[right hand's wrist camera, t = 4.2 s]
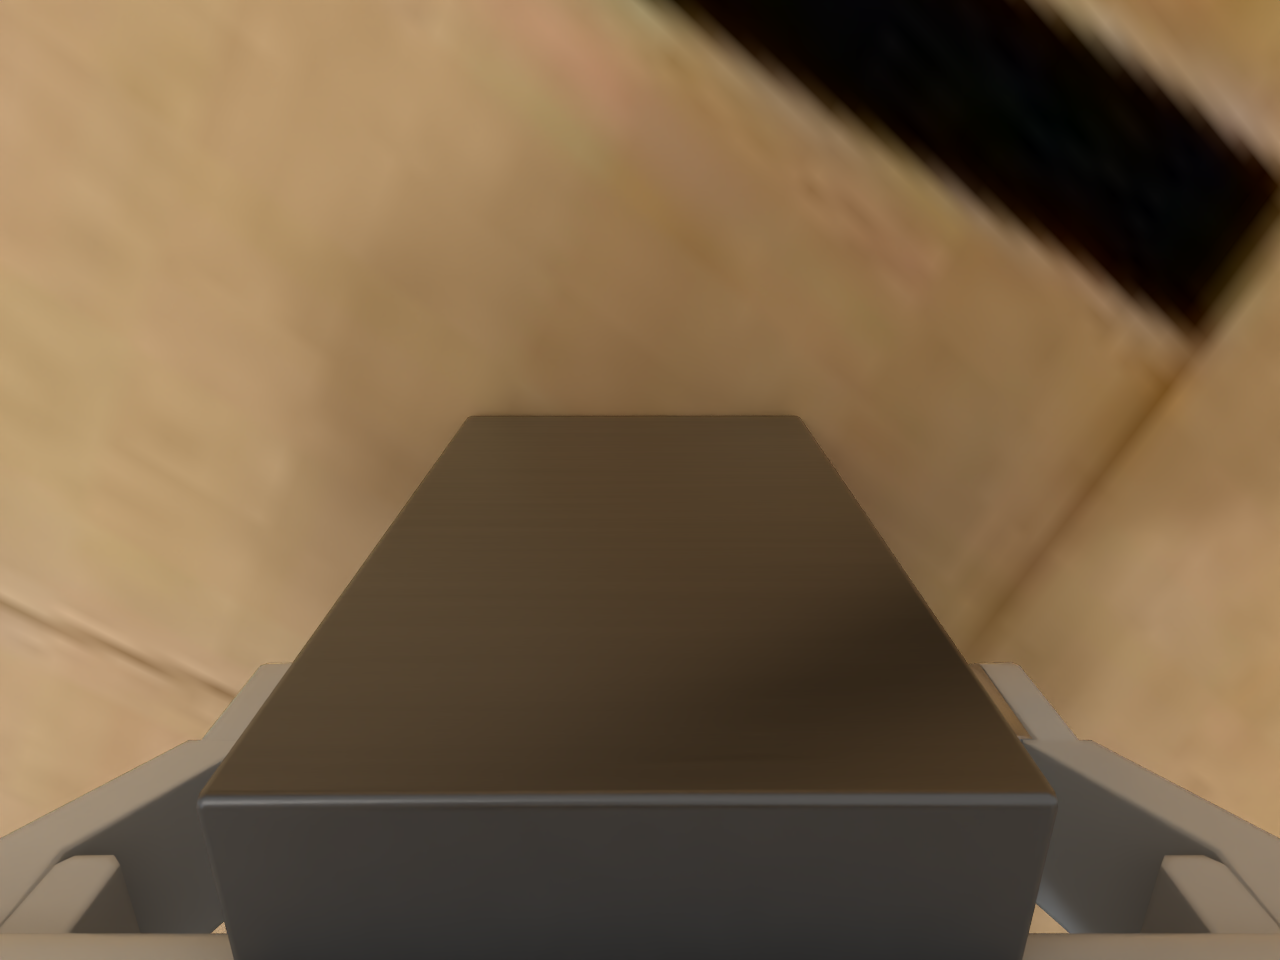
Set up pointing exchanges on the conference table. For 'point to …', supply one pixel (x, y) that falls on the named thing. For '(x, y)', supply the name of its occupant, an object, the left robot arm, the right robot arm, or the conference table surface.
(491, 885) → the bar
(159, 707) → the conference table surface
